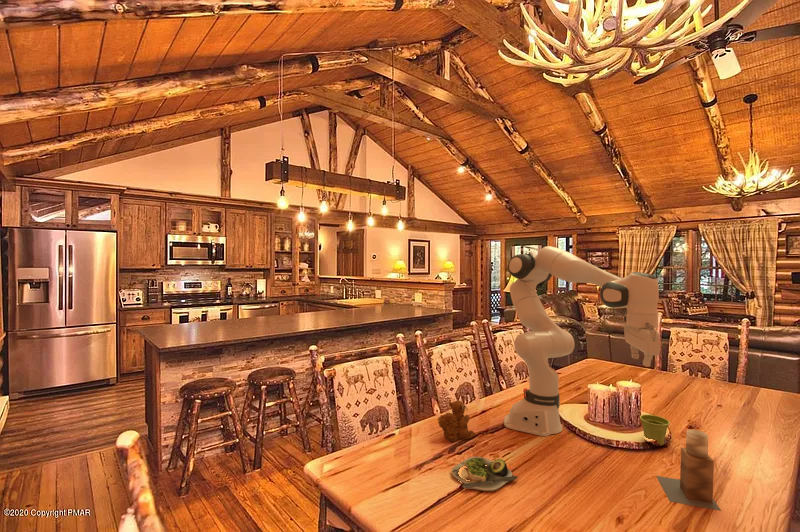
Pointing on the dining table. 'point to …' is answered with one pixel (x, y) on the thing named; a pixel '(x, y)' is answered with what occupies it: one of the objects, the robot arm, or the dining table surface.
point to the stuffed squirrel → (455, 422)
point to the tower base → (696, 488)
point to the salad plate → (484, 473)
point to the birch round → (697, 443)
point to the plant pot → (655, 427)
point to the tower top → (697, 466)
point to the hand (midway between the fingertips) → (640, 362)
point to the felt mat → (681, 494)
